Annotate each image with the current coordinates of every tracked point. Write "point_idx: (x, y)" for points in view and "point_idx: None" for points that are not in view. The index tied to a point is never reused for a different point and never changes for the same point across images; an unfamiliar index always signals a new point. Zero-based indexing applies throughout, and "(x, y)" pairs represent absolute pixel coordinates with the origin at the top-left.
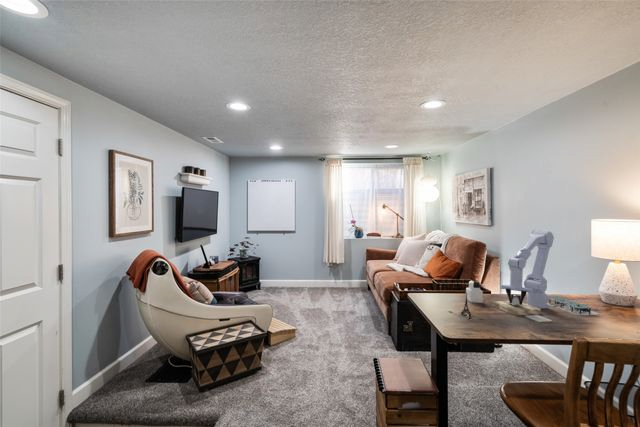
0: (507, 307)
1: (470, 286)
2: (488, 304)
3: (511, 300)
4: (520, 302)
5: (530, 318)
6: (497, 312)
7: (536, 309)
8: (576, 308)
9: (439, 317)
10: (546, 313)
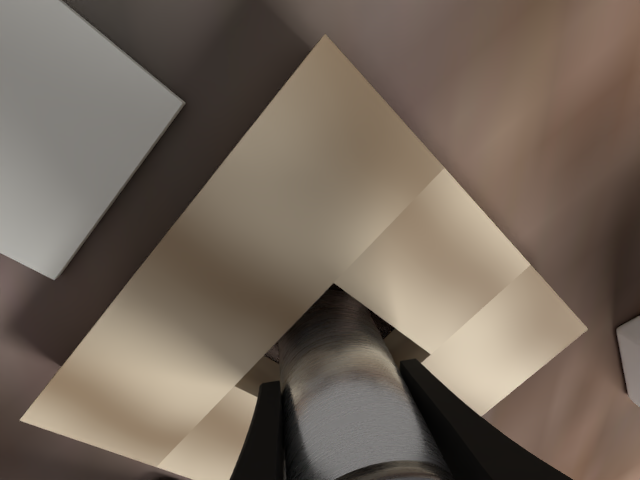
0: (442, 181)
1: None
2: None
3: (413, 399)
4: (279, 407)
5: (84, 20)
6: (533, 46)
7: (62, 377)
8: None
9: None
10: (20, 430)
